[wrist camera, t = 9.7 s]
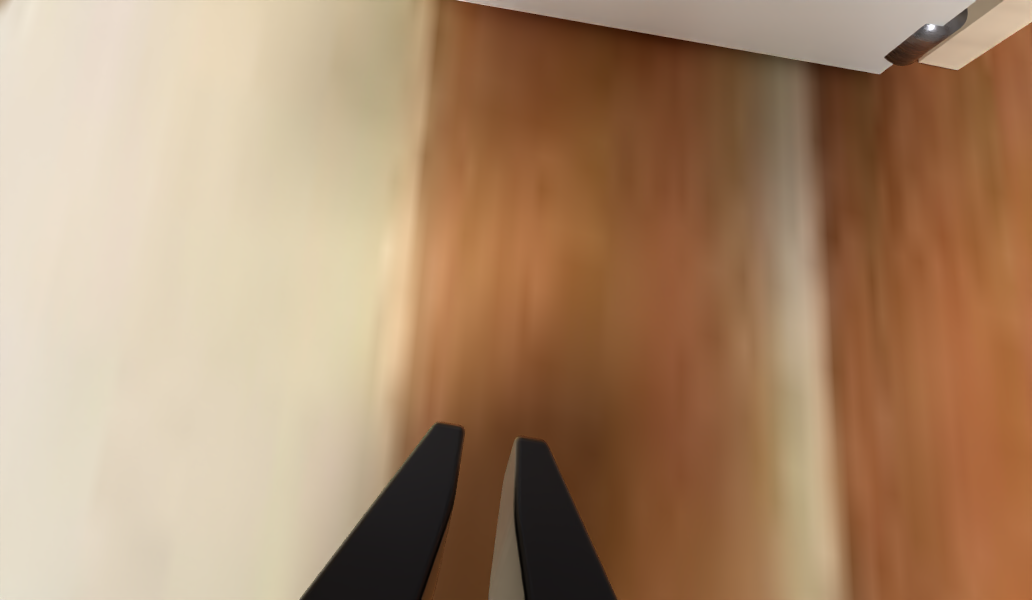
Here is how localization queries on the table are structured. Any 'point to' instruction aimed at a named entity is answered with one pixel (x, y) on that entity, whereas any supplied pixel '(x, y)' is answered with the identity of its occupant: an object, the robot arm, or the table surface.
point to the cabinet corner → (980, 32)
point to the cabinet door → (778, 25)
